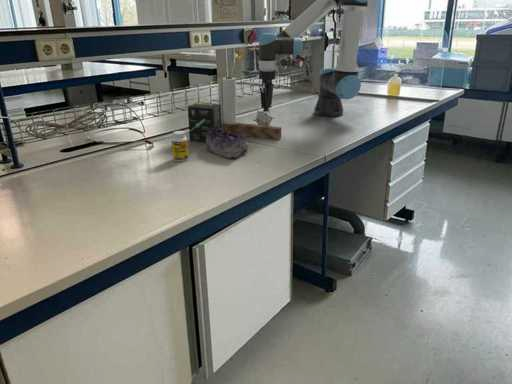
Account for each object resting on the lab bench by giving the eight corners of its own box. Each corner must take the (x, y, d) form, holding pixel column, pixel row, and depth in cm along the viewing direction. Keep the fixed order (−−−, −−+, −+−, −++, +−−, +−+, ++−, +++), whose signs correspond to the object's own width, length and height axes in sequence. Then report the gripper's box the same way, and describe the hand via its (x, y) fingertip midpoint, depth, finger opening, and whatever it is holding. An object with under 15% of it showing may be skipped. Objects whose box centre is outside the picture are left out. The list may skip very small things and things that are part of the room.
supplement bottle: (173, 162, 150) (171, 134, 145) (172, 157, 155) (170, 130, 150) (189, 161, 151) (187, 133, 147) (188, 156, 156) (186, 129, 152)
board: (281, 138, 177) (281, 127, 175) (278, 140, 175) (279, 129, 173) (225, 132, 186) (224, 121, 184) (222, 134, 183) (221, 123, 181)
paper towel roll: (239, 123, 200) (238, 77, 192) (229, 126, 196) (228, 79, 188) (228, 121, 205) (227, 76, 196) (219, 123, 201) (217, 77, 192)
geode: (194, 150, 163) (194, 125, 160) (216, 148, 171) (217, 123, 168) (230, 160, 150) (231, 132, 147) (252, 157, 158) (254, 130, 155)
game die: (266, 136, 194) (271, 123, 185) (249, 128, 194) (254, 115, 185) (272, 122, 198) (277, 109, 190) (256, 115, 198) (260, 102, 190)
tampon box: (222, 138, 178) (221, 103, 172) (213, 144, 170) (212, 108, 164) (199, 135, 182) (197, 101, 176) (189, 141, 174) (187, 106, 168)
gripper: (264, 67, 194) (263, 117, 204) (254, 71, 183) (253, 124, 193) (279, 68, 192) (278, 119, 201) (270, 72, 181) (269, 125, 191)
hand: (266, 121), depth 197 cm, fingers closed
